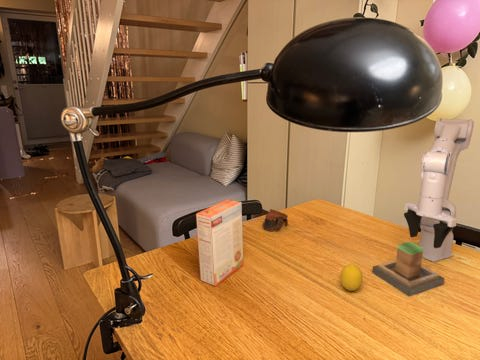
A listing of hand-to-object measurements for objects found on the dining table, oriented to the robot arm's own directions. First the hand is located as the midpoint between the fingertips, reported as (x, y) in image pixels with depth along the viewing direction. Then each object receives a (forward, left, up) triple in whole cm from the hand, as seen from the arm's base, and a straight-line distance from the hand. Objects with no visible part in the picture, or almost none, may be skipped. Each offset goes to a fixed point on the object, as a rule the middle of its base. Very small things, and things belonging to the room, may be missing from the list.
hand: (424, 241), depth 97 cm
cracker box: (+52, -25, -11) cm, 58 cm away
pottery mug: (+21, -47, -11) cm, 53 cm away
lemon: (+24, -2, -11) cm, 26 cm away
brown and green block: (+5, 0, -8) cm, 10 cm away
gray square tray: (+5, 0, -10) cm, 12 cm away
